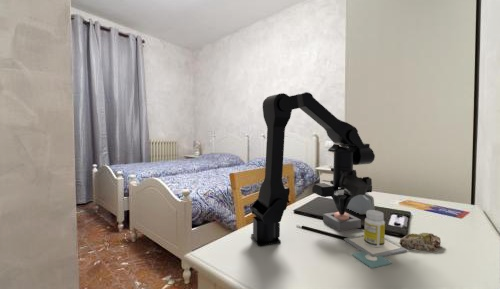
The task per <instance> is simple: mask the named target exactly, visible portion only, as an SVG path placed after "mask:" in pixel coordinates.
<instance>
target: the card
mask: <svg viewBox="0 0 500 289" xmlns="http://www.w3.org/2000/svg"><path fill="white" fill-rule="evenodd" d="M351 256H353V257H354V258H356V259H357V260H359V261H360V262H361V263H363V264H364V265H365V266H367V267H368V268H370V269H375V268H380V267H384V266H389V265H391V264H392V263H393V262H392V261H390V260H389V259H387V258H385V256H383V257H382V256H377V257H372V256H370V255H368V254H367V253H365V252H364V251H358V252H353V253H351Z"/></svg>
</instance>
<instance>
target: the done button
mask: <svg viewBox="0 0 500 289" xmlns="http://www.w3.org/2000/svg"><path fill="white" fill-rule="evenodd" d="M347 213H348V212H346V213H344V215H341V214H339V211H336V212H335V213H334V217H335V218H337V219H338V220H340V221H341V220H348V219H349V214H350V213H348V214H347Z"/></svg>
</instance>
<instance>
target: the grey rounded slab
mask: <svg viewBox="0 0 500 289" xmlns="http://www.w3.org/2000/svg"><path fill="white" fill-rule="evenodd" d="M374 198H375V197H374V196H372V195H371V194H370V193H369V192H367V193H366V194H365V195H357V196H355V197H353V198H352V199H351V200H350V202H349V204H348V206H347V208H346V210H348V209H349V210H348V211H350V210H352V211H354V212H356V213H355V214H357V213H359V214H358V215H366V212H367V211H368V210H375V199H374ZM352 211H351V212H352ZM354 212H353V213H354Z"/></svg>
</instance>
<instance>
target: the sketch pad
mask: <svg viewBox="0 0 500 289" xmlns="http://www.w3.org/2000/svg"><path fill="white" fill-rule="evenodd" d="M343 240H344V241H345V242H347V243H348V244H350V245H351V246H352V247H354V248H356V249H357V250H359V252H362V251H364V252H365V253H367V254H368V255H370V256H372V257H377V256H382V257H387V256H390V255H395V254H401V253H406V252H408V248H406V247H402V245H400V244H397V242H396V243H395V242H393V241H391V240H389V239H388V238H386V237H385V239H384V246H383V247H372V246H369V245H367V244H366V243H365V242H364V234H363V235H356V236H352V237H351V236H350V237H345V238H343Z"/></svg>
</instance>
